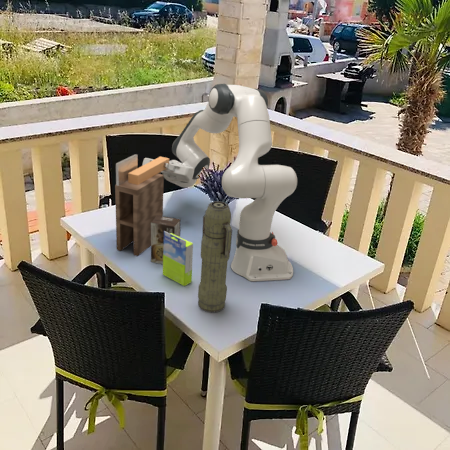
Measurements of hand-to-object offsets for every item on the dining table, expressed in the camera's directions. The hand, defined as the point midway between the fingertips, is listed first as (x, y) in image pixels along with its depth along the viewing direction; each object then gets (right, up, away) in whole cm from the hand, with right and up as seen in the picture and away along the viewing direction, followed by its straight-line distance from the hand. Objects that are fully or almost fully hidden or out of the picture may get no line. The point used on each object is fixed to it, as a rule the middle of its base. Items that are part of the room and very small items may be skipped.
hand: (159, 163), depth 197 cm
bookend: (-10, -7, -11) cm, 17 cm away
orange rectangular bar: (-3, -5, -5) cm, 7 cm away
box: (+8, -42, -19) cm, 47 cm away
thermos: (+21, -49, -31) cm, 61 cm away
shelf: (-7, -30, +2) cm, 31 cm away
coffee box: (+3, -36, -8) cm, 37 cm away
